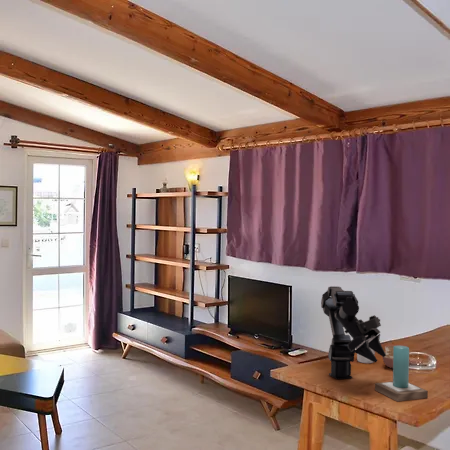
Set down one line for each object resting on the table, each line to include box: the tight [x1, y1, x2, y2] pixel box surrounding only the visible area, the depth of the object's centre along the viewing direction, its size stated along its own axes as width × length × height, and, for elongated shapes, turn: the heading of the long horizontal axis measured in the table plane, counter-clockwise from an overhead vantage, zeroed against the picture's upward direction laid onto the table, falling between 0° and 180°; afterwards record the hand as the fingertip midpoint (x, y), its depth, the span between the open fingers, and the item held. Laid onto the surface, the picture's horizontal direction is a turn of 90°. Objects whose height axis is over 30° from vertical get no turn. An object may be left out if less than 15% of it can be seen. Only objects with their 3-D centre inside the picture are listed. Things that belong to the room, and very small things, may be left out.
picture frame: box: [374, 381, 429, 402], centre depth 178 cm, size 12×12×3 cm
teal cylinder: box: [392, 345, 410, 388], centre depth 178 cm, size 5×5×13 cm
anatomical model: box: [381, 345, 395, 370], centre depth 216 cm, size 23×10×5 cm, turn 159°
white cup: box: [356, 348, 376, 364], centre depth 219 cm, size 8×8×10 cm
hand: (380, 358), depth 183 cm, fingers open, 9 cm apart
